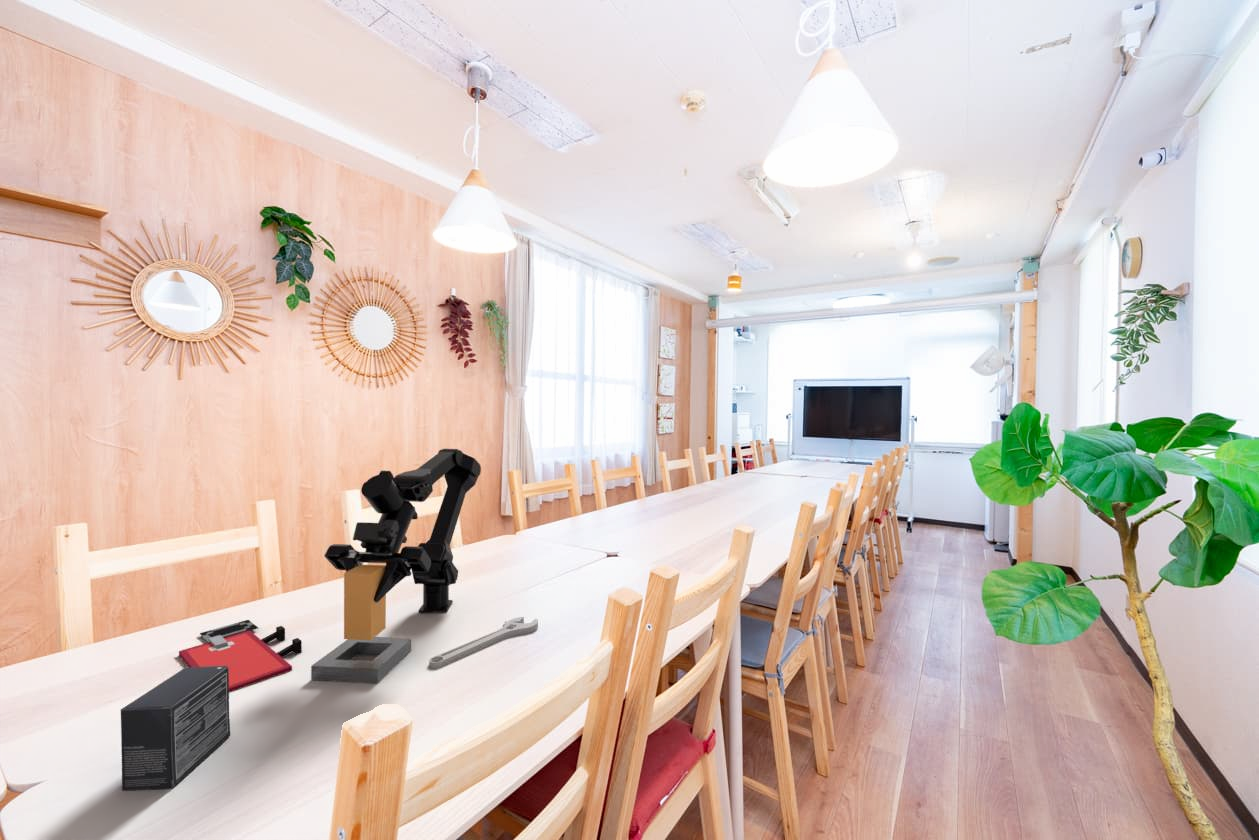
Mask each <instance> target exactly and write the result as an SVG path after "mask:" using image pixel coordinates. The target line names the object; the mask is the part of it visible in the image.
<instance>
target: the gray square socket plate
mask: <svg viewBox="0 0 1259 840" xmlns="http://www.w3.org/2000/svg"><path fill="white" fill-rule="evenodd" d="M412 642H413V641H412V638H411V637H393V636H392V637H389V636H386V637H385V636H375V637H374V638H373V639H372V640H354V639H345V641H343V642H342V643H340V644H339V645H337V647H335V648H334V649H333V650H331V651H329V652H328V653H327V654H326V655H324V656H323V657H322V658H320V659H319V660H317V661H315V662H314V663H313V664H311V666H310V672H311V673H310V676H311V677H310V678H311V679H310V680H311V681H325V682H341V683H342V682H343V683H344V682H345V683H362V684H363V683H364V684H368V683H369V684H379V683H378V682H379V681H380V680H383V679H384V678H385V677H386V676H387V675H388V674H389V673H390V672H391V671H393V669H394V668H395V667H396V666H398V664H399V663H401V662H402V661H403V660H404V659H405V658H406V657H407V656H408V655H409V654H410V653H411V652H412ZM356 656H376V657H375V658H374V659H372V661H370V660H353V659H354V658H355V657H356ZM380 682H381V681H380Z"/></svg>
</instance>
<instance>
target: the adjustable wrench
mask: <svg viewBox="0 0 1259 840" xmlns="http://www.w3.org/2000/svg"><path fill="white" fill-rule="evenodd" d="M524 618H525V617H523V616H519V617H515V618H512V619H510V620H507V621H506V620H505V621H504V623H503V624H502V627H501V628H499V629H497V630H495V631H492V632H490V633H488V634H486V635H483V636H481V637H478V638H475V639H473V640H471V641H469V642H466V643H464V644H462V645H459V646H456V647H454V648H452V649H449V650H447V651H444V652H442V653H439V654H437V655H435V656H433V657H431V658H430V659H429V662H428V663H429V664H428V665H429V668H431V669H437V668H441V667H443V666H446V665H448V664H450V663H453V662H455V661H457V660H460V659H462V658H464V657H466V656H468V655H470V654H473V653H475V652H477V651H479V650H482V649H484V648H486V647H488V646H491V645H493V644H495V643H498V642H500V641H502V640H504V639H506V638H510V637H513V636H517V635H523V634H528V633H532V632H535V631H536V630H538V627H539V620H538V618H534V619H533V620H532V621H531V622H525V619H524Z"/></svg>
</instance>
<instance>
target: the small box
mask: <svg viewBox="0 0 1259 840" xmlns="http://www.w3.org/2000/svg"><path fill="white" fill-rule="evenodd" d="M228 668H229V666H210V667H190V668H189V667H184V668H183V669H181V670H179V671H178V672H175V673H174V674H173V675H171V676H170V677H169V678H166V680H164V681H162V682H161V683H159V684H158V685H157V686H154V687H153V688H152V689H150V690H149V691H147V692H146V693H144V694H143V695H142V694H141V696H140V697H138V698H136V699H135V700H133V701H132V702H130V703H128V704H127V705H126V706H124V707H122V708H121V709H120V711H119V712H120V730H121V731H120V735H121V737H120V738H121V741H120V743H121V791H124V792H125V791H149V790H166V789H167V790H169V789H174V788H176V787H177V786H178V785H179V784H180V783H181V782H182V781H183V780H184V779H185V778H186V777H187V776H188V775H190V773H192V772H193V771H194V770H195V769H196V768H197V767H198V766H200V764H202V763H203V762H204V760H206V759H207V758H208V757H209V756H210V755H211V754H213V752H214V751H216V750H217V749H218V748H219V747H220V746H221V745H222V744H224V742H225V741H227V739H228V738H230V736H231V726H230V725H231V724H230V692H229V671H228Z"/></svg>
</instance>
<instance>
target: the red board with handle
mask: <svg viewBox="0 0 1259 840" xmlns="http://www.w3.org/2000/svg"><path fill="white" fill-rule="evenodd" d="M258 629H259V627H258V626H257V625H255V624H254V623H253V622H252V621H251V620H249V619H245V620H242V621H239V622H235V623H231V624H228V625H225V626H221V627H217V628H213V629H211V630H206V631H203V632H200V633H199V635H200V636H201V637H203V639H204V640H206V642H205V643H203V644H198V645H196V646H192V647H188V648H185V649H182V650H179V651H178V656H179V657H180V658H182V659H183V660H182V659H181V660H182V662H184V663H185V665H186V666H187V665H188V666H189V667H188V666H187V667H188V668H190V667H210V666H229V668H228V671H229V693H231V692H233V691H236V690H240V689H242V688H245V687H247V686H250V685H253V684H254V685H255V684H257V683H259V682H262V681H266V680H268V679H271V678H274V677H277V676H279V675H282V674H285V673H289V672H291V671H293V665H291V664H290V663H289V661H287V660H285V658H284V657H285V656H287V655H289V654H290V653H294V654H295V655H298V654H302V653H303V651H302V647H303V646H302V643H303V642H302V639H300V638H299V637H296V638H293V639H292V641H291V643H292V644H290V645H288V646H286V647H285V648H282V649H281V650H279V651H277V652H276V651H275V650H274V649H272V648H271V647H270V646H269V645H268V644H269V643H271V642H273V641H274V640H277V641H278V642H284V641H286V628H285V627H284V626H282V625H279V626H276V628H275V632H273V633H271V634H268V635H267V636H266V637H263V638H259V636H257V635H256V634H255V633H254V632H253V630H254V631H255V630H258Z"/></svg>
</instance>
